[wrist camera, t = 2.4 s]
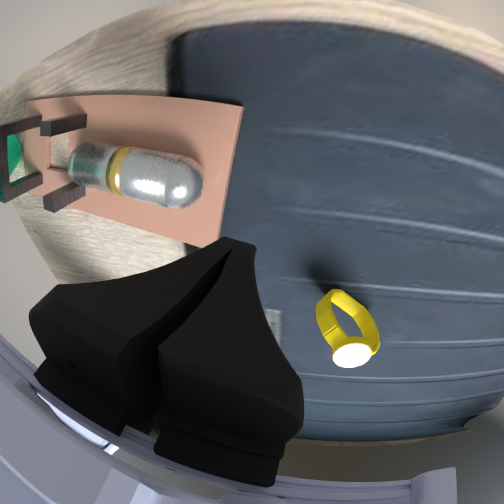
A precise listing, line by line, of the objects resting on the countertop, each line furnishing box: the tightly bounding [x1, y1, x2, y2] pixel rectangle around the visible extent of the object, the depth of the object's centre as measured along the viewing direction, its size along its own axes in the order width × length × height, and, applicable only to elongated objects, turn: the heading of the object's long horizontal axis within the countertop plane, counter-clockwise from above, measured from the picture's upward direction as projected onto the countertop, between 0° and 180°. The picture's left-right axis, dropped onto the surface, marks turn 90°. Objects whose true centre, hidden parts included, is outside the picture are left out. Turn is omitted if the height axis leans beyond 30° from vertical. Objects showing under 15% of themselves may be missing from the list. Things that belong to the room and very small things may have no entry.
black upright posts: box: [0, 114, 87, 213], centre depth 17 cm, size 9×8×6 cm
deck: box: [24, 95, 244, 248], centre depth 20 cm, size 25×11×1 cm, turn 78°
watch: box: [316, 289, 380, 368], centre depth 19 cm, size 6×3×6 cm, turn 56°
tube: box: [67, 141, 206, 209], centre depth 17 cm, size 12×4×4 cm, turn 78°
